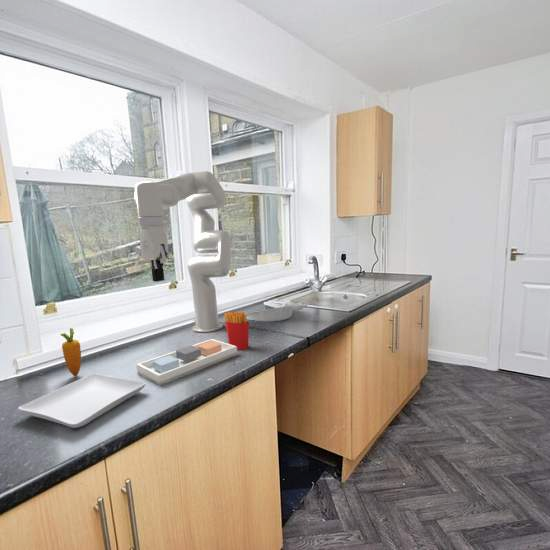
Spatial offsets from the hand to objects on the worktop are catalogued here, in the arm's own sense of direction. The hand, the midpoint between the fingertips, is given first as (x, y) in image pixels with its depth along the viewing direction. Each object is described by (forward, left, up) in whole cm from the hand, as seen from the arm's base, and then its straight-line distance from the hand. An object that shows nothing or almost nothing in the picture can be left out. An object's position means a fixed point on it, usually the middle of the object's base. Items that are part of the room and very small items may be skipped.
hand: (158, 280), depth 111 cm
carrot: (-13, -24, -27) cm, 39 cm away
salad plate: (+10, -28, -28) cm, 41 cm away
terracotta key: (+8, +11, -26) cm, 29 cm away
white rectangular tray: (+8, +3, -27) cm, 28 cm away
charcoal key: (+8, +3, -25) cm, 26 cm away
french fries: (+10, +22, -27) cm, 36 cm away
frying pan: (-2, +58, -28) cm, 64 cm away
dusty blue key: (+8, -5, -26) cm, 27 cm away
